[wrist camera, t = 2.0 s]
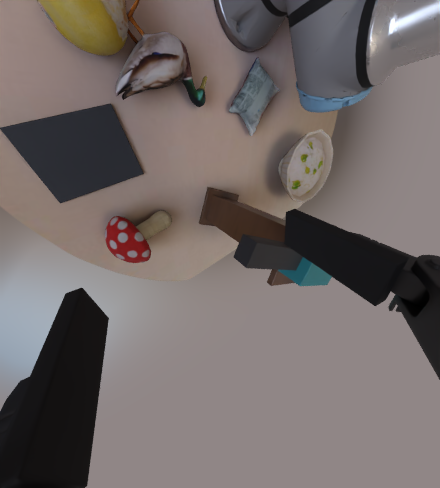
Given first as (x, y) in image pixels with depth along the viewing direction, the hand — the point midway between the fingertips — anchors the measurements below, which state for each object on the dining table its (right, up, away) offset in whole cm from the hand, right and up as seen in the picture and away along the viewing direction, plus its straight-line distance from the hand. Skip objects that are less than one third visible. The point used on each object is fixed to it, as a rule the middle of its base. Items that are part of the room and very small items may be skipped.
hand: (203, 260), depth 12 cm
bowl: (+22, +26, +46) cm, 58 cm away
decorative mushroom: (-18, +5, +31) cm, 36 cm away
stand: (+1, +11, +40) cm, 41 cm away
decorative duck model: (-11, +31, +22) cm, 39 cm away
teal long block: (+10, 0, +14) cm, 17 cm away
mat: (-23, +17, +21) cm, 36 cm away
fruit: (-19, +34, +15) cm, 42 cm away
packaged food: (+8, +36, +32) cm, 48 cm away
